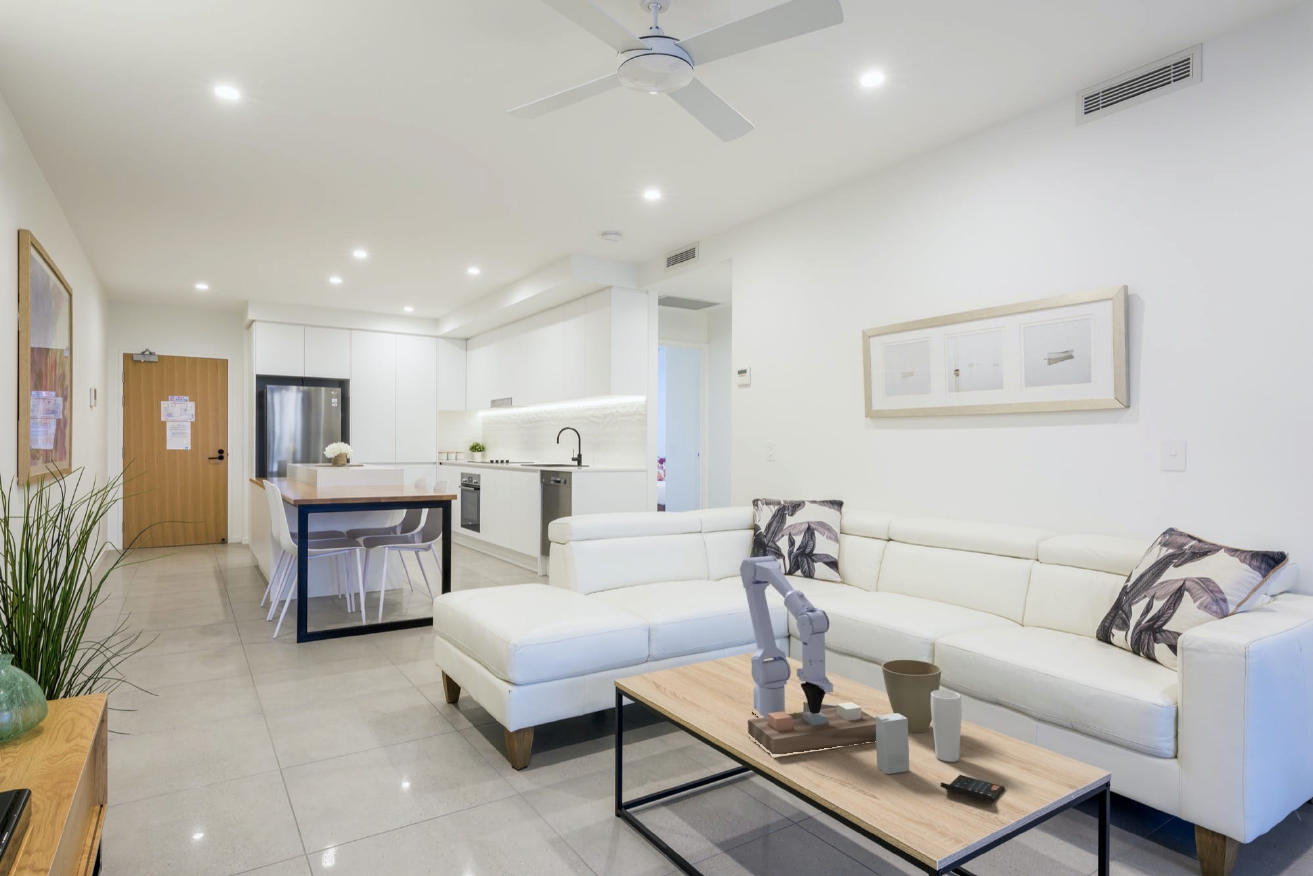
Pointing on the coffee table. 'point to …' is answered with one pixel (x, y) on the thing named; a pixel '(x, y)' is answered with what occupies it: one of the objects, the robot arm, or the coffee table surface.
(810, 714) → the slate key
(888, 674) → the plant pot
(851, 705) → the ivory key
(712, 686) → the coffee table surface
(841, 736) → the board
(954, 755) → the drinking glass
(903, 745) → the skincare box
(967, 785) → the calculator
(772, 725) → the pink cube
